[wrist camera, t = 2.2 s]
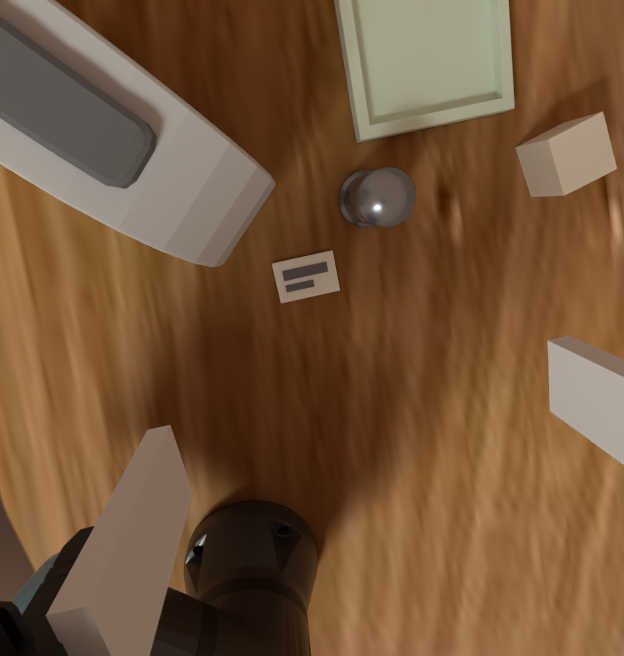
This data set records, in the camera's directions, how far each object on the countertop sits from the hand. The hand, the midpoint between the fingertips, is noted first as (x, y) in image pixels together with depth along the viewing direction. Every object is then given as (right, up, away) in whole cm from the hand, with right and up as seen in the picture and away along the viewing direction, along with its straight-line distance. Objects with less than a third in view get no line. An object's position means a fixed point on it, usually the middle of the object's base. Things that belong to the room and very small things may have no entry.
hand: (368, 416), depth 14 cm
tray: (+8, +28, +22) cm, 37 cm away
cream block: (+21, +19, +26) cm, 39 cm away
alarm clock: (-16, +19, +23) cm, 34 cm away
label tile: (-2, +8, +27) cm, 28 cm away
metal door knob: (+3, +15, +26) cm, 30 cm away
